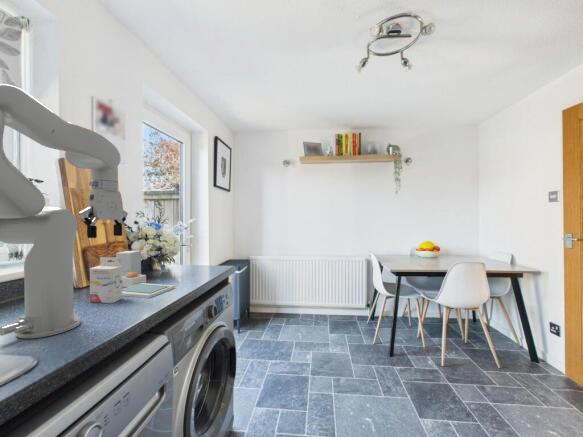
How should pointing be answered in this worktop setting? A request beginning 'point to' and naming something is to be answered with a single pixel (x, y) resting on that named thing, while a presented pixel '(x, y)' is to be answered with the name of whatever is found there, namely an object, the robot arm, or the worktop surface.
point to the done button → (132, 274)
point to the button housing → (133, 280)
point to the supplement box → (130, 261)
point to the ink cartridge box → (106, 281)
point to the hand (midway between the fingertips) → (105, 236)
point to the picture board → (146, 290)
